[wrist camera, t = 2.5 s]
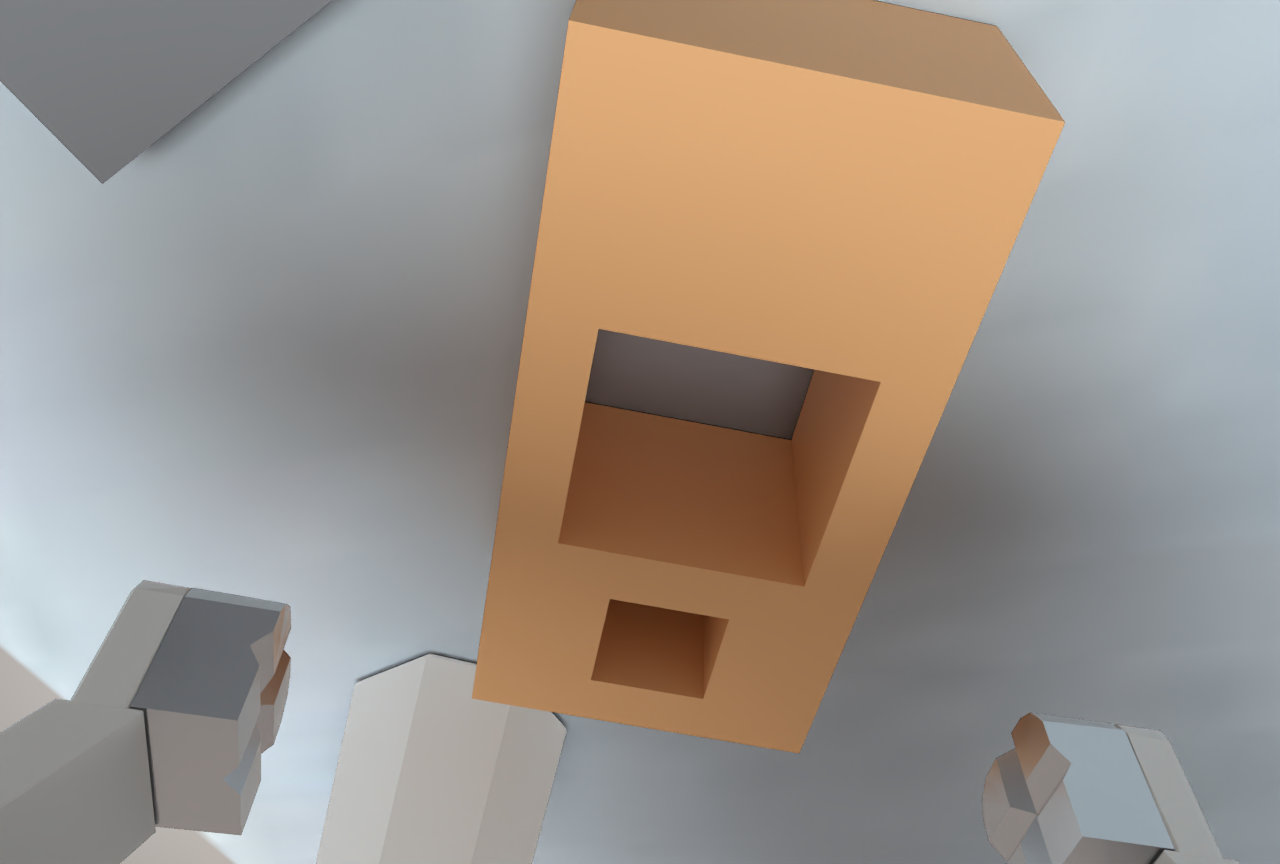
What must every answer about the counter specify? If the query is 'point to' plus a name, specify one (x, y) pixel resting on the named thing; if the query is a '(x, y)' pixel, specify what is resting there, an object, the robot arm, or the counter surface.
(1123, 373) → the counter surface
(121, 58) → the base plate
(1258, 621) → the counter surface
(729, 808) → the counter surface
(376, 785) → the pepper shaker
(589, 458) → the orange block with recesses
